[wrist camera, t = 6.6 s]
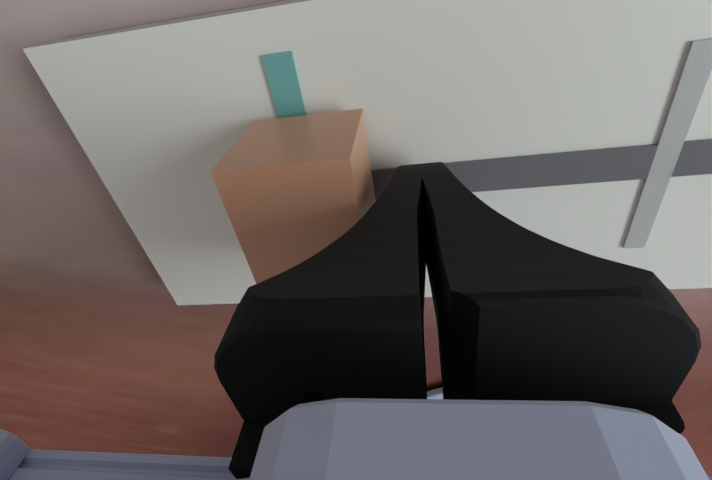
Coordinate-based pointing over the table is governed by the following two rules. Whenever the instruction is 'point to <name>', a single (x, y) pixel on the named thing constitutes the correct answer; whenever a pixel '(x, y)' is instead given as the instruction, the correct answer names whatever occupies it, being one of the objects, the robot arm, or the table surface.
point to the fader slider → (295, 186)
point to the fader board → (411, 117)
